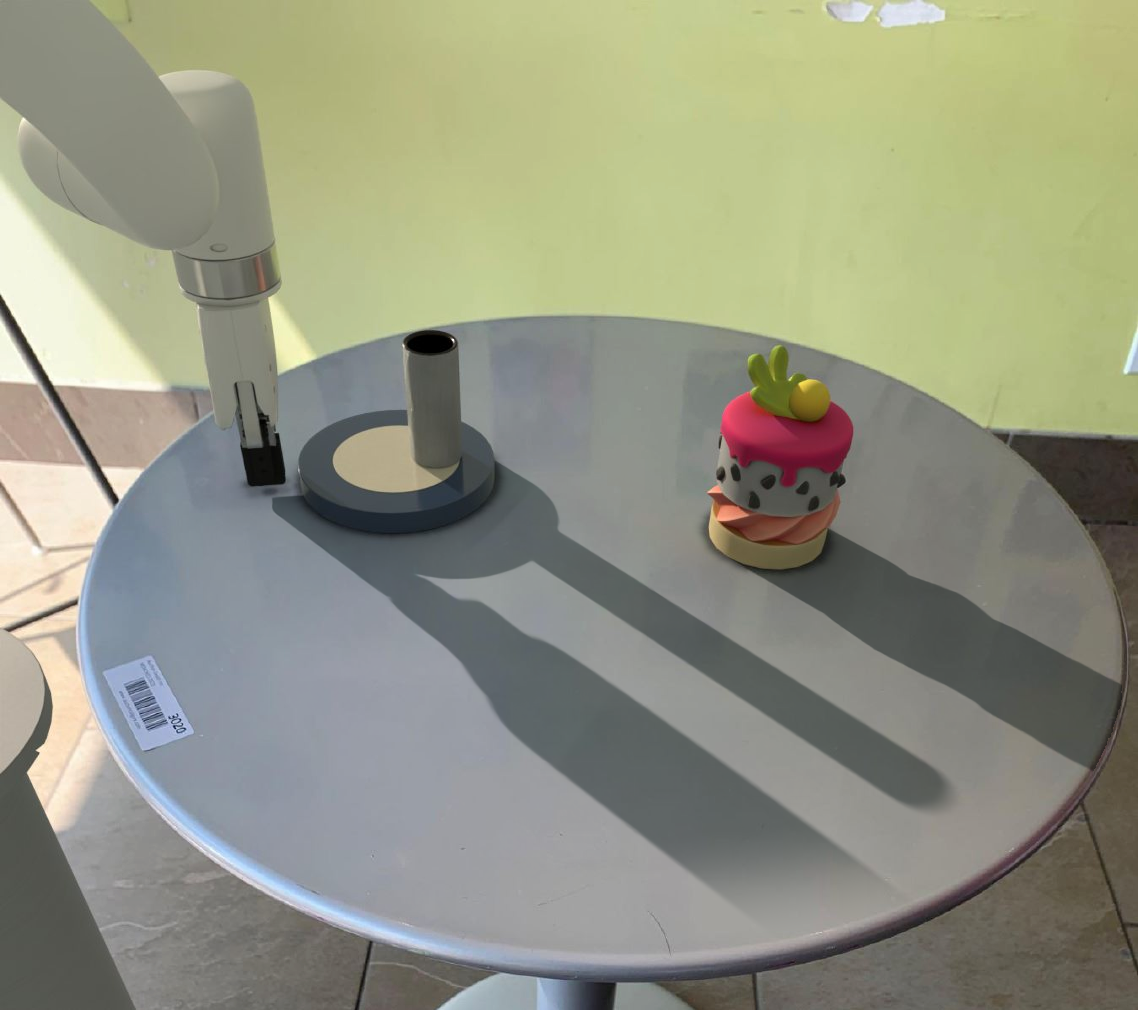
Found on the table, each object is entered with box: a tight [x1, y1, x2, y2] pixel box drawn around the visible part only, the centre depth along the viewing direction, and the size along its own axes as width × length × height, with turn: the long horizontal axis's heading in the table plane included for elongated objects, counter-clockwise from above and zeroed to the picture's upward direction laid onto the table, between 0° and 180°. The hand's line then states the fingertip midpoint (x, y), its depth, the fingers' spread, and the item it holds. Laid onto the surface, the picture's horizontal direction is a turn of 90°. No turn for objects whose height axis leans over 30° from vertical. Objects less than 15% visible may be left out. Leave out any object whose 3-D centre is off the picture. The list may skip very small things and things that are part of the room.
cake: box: [706, 344, 854, 570], centre depth 89 cm, size 10×11×15 cm
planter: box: [401, 329, 462, 468], centre depth 94 cm, size 4×4×10 cm
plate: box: [297, 409, 496, 534], centre depth 98 cm, size 17×17×2 cm
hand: (267, 480), depth 96 cm, fingers closed
